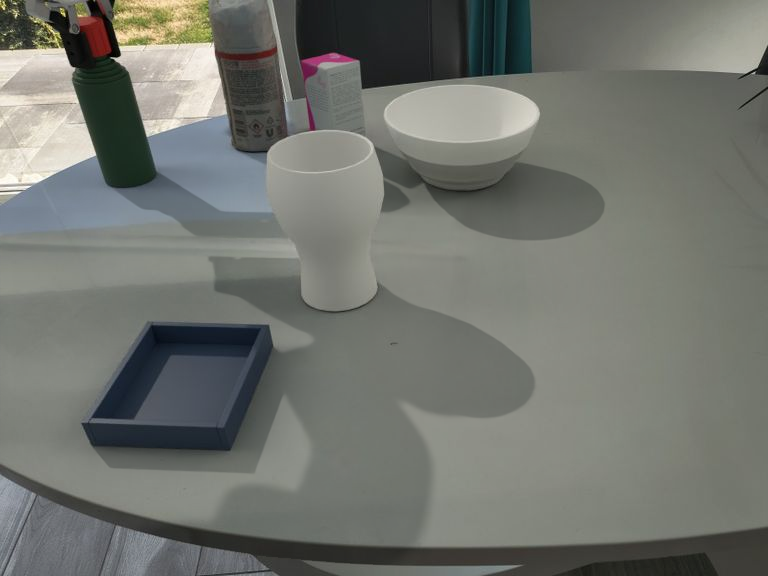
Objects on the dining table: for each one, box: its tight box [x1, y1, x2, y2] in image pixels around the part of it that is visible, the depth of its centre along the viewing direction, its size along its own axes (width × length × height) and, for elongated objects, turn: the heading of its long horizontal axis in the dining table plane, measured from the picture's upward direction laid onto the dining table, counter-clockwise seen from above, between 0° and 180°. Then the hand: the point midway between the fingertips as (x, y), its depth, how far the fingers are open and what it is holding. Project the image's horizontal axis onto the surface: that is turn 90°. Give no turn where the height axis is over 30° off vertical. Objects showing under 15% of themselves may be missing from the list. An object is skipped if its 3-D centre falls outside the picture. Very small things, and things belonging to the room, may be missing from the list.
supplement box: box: [300, 52, 367, 138], centre depth 100 cm, size 6×6×12 cm
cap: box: [78, 15, 111, 57], centre depth 85 cm, size 4×4×4 cm
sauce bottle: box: [71, 55, 158, 188], centre depth 90 cm, size 6×6×18 cm
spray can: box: [208, 0, 290, 152], centre depth 98 cm, size 8×8×20 cm
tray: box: [80, 320, 274, 451], centre depth 62 cm, size 11×13×2 cm
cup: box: [265, 130, 385, 312], centre depth 70 cm, size 11×11×15 cm
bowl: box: [383, 84, 541, 192], centre depth 94 cm, size 20×20×8 cm
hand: (96, 60), depth 86 cm, fingers closed on cap, 3 cm apart
